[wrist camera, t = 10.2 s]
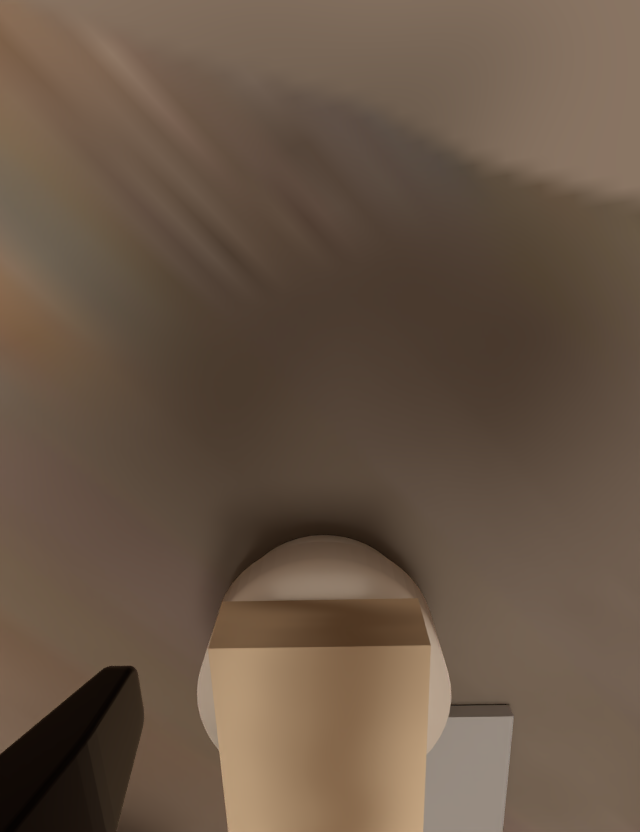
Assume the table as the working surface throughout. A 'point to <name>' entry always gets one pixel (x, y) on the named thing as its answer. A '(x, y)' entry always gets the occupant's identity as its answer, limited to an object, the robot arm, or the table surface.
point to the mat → (469, 771)
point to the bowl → (331, 580)
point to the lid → (322, 714)
